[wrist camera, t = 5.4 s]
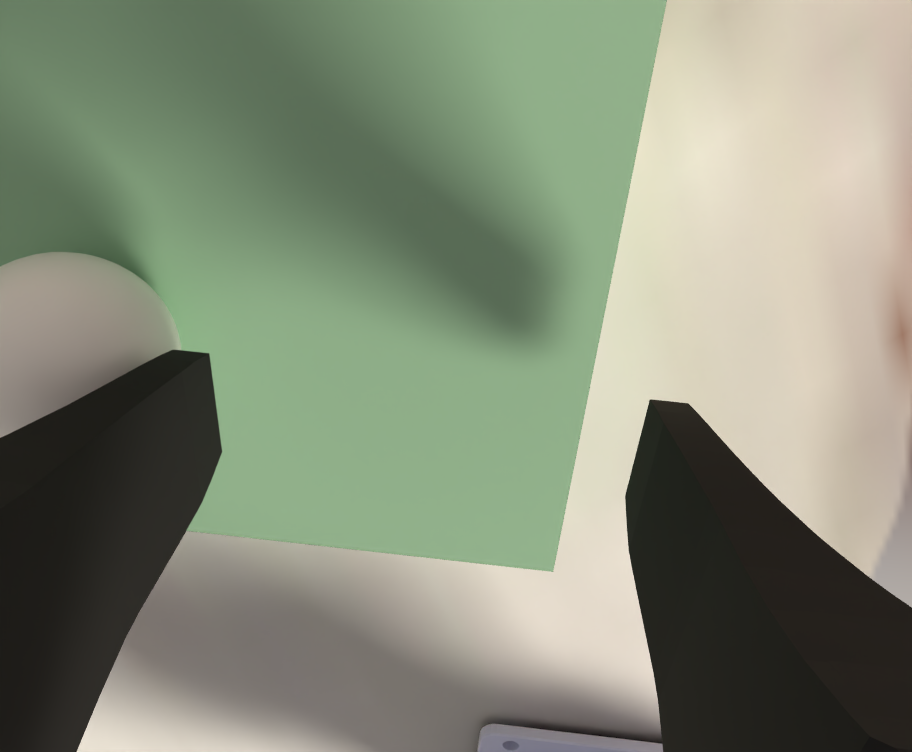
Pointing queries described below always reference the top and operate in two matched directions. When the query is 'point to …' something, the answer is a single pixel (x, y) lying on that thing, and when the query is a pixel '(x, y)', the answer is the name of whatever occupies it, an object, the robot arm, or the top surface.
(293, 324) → the green holed board
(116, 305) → the ball
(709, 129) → the top surface
